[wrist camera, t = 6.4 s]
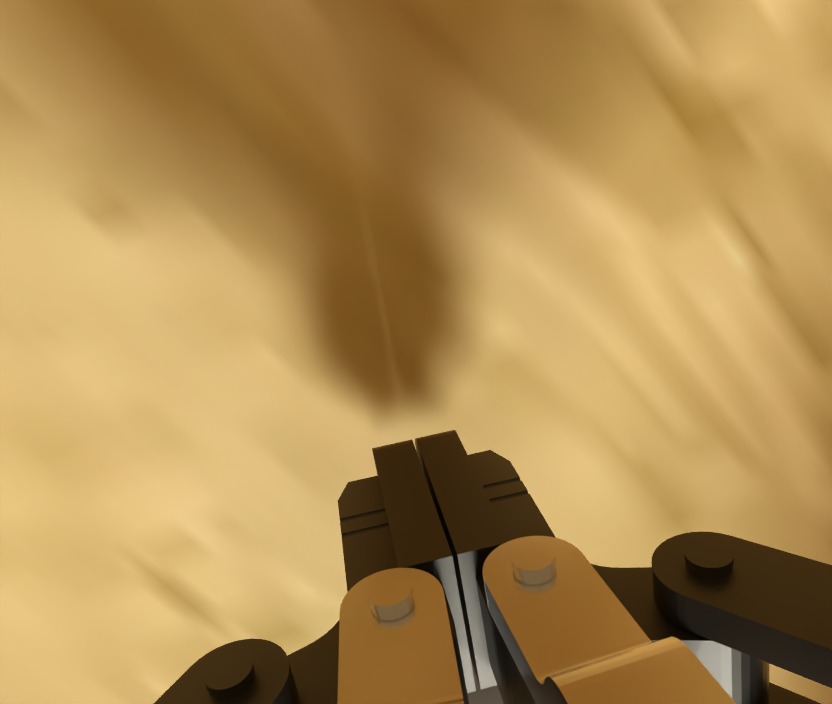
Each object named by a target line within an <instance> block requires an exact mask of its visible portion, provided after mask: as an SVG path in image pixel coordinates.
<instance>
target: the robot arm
mask: <svg viewBox="0 0 832 704" xmlns="http://www.w3.org/2000/svg"><path fill="white" fill-rule="evenodd" d="M415 445H416V449H415V447H414V444H413V441H412V440H408V441H403V442H399V443H395V444H390V445H386V446H381V447H377V448H372V450H373V455H374V460H375V465H376V470H377V474H378V476H374V477H370V478H365V479H361V480H356V481H352V482H348V484H347V485H346V487H345V489H344V491H343V493H342V494H341V496H340V498H339V500H338V506H339V515H340V525H341V534H342V544H343V553H344V562H345V572H346V581H347V590H348V592H347V594H346V595H345V597H344V599H343V601H342V603H341V607H340V620H339V621H338V622H337V623H336V624H335V626H334V627H333V628H332V629H331V630H330V631H328V632H327V633H326V634H325V635H324V636H322V637H321V638H319V639H318V640H316V641H315V642H313V643H311V644H309V645H308V646H306V647H304V648H302V649H300V650H298V651H296V652H294V653H292V654H290V655H288V656H287V655H286V653H285V652H284V650H283V649H282V648H281V647H280V646H278V645H277V644H275V643H273V642H270V641H267V640H262V639H245V640H239V641H234V642H231V643H228V644H225V645H223V646H221V647H218V648H216V649H214V650H213V651H211V652H209V653H207V654H206V655H204V656H203V657H202V658H200V659H199V660H198V661H197V662H195V663H194V664H193V665H192V666H191V667H190V668H189V669H188V670H187V671H186V672H185V673H184V674H183V675H182V676H181V677H180V678H179V679H178V680H177V681H176V682H175V683H174V684H173V685H172V686H171V687H170V688H169V689H168V690H167V691H166V692H165V693H164V694H163V695H162V696H161V697H160V698H159V699H158V700H157V701H156V702H155V703H154V704H469V699H468V694H467V693H470V692H474V691H476V687H475V681H474V676H473V670H472V664H473V667H474V670H475V673H476V676H477V680H478V683H479V686H480V689H485V688H489V687H492V686H496V685H497V686H498V688H499V691H500V694H501V697H502V700H503V704H821V703H818V702H816V701H813V700H811V699H808V698H806V697H804V696H801V695H799V694H796V693H794V692H792V691H789V690H787V689H784V688H782V687H779V686H777V685H775V684H772V683H770V682H769V663H770V664H773V665H775V666H778V667H780V668H783V669H785V670H788V671H790V672H793V673H795V674H798V675H800V676H803V677H805V678H808V679H810V680H813V681H815V682H818V683H821V684H823V685H826V686H828V687H831V688H832V565H828V564H825V563H821V562H818V561H815V560H811V559H808V558H804V557H801V556H797V555H794V554H791V553H787V552H784V551H780V550H777V549H774V548H770V547H767V546H763V545H760V544H757V543H753V542H750V541H746V540H743V539H740V538H736V537H733V536H729V535H725V534H721V533H714V532H691V533H684V534H680V535H677V536H674V537H672V538H669V539H667V540H666V541H664V542H663V543H661V544H660V545H659V546H658V547H657V548H656V550H655V551H654V553H653V556H652V567H651V568H610V567H602V566H597V565H593V564H590V563H589V561H588V560H587V559H586V557H585V556H584V555H583V554H582V552H581V551H580V550H579V549H578V548H576V547H575V546H574V545H572V544H570V543H568V542H566V541H564V540H561V539H558V538H556V537H555V536H554V534H553V532H552V531H551V529H550V527H549V526H548V524H547V522H546V521H545V519H544V517H543V516H542V514H541V512H540V511H539V509H538V507H537V506H536V504H535V502H534V501H533V499H532V497H531V496H530V494H528V491H527V489H526V487H525V486H524V484H523V482H522V481H520V477H519V476H518V474H517V472H516V471H515V469H514V467H513V466H512V464H511V462H510V461H509V460H507V459H505V458H503V457H502V456H500V455H498V454H496V453H494V452H493V451H491V450H488V451H484V452H479V453H475V454H471V455H467V453H466V451H465V449H464V447H463V445H462V443H461V441H460V439H459V437H458V435H457V433H456V431H455V430H452V431H448V432H443V433H439V434H434V435H430V436H425V437H421V438H416V439H415ZM470 657H471V659H470ZM471 661H472V664H471Z"/></svg>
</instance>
